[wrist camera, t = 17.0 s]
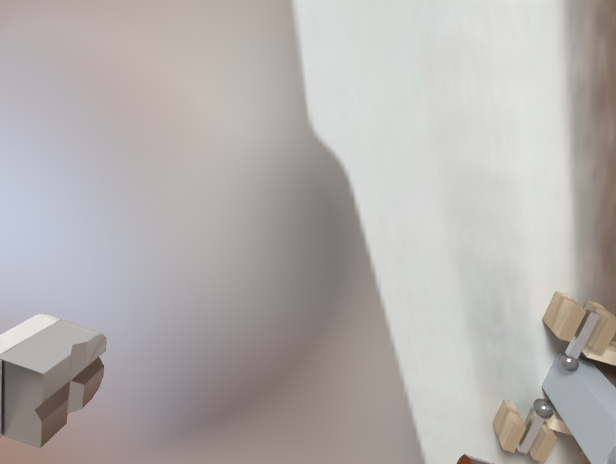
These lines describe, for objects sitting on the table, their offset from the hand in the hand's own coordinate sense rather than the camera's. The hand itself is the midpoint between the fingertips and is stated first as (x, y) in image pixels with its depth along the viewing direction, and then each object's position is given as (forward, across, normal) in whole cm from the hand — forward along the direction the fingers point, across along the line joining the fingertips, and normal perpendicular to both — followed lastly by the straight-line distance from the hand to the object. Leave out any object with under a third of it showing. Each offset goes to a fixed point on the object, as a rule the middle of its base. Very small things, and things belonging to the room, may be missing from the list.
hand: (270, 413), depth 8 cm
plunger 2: (+27, -22, +6) cm, 35 cm away
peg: (+29, -25, +11) cm, 40 cm away
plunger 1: (+27, -22, +16) cm, 38 cm away
